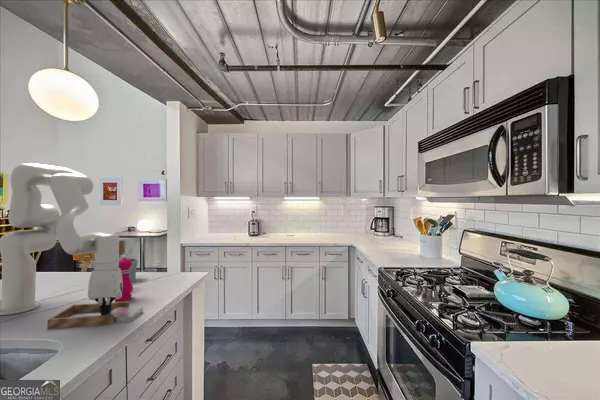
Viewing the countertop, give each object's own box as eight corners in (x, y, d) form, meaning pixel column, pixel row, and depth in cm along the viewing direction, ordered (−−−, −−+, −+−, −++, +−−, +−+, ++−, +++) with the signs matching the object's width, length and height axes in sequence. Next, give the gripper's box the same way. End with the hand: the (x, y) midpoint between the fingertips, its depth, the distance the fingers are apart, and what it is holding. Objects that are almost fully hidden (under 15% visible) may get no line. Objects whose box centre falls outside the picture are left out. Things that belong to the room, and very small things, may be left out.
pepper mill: (123, 303, 115) (124, 256, 116) (109, 301, 117) (110, 256, 117) (136, 297, 122) (137, 253, 123) (123, 296, 124) (124, 253, 124)
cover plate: (101, 324, 97) (101, 317, 97) (116, 313, 106) (116, 307, 106) (130, 323, 97) (130, 316, 97) (142, 313, 106) (142, 307, 106)
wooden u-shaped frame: (47, 328, 91) (47, 319, 91) (73, 312, 105) (73, 304, 105) (112, 324, 96) (112, 315, 96) (129, 308, 109) (129, 301, 109)
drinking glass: (121, 279, 150) (122, 258, 151) (140, 279, 151) (141, 257, 152) (111, 284, 140) (111, 262, 140) (131, 284, 141) (132, 261, 142)
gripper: (78, 269, 96) (77, 320, 96) (124, 267, 99) (122, 317, 99) (90, 264, 104) (89, 311, 103) (132, 263, 107) (131, 309, 106)
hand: (105, 314), depth 101 cm, fingers closed
